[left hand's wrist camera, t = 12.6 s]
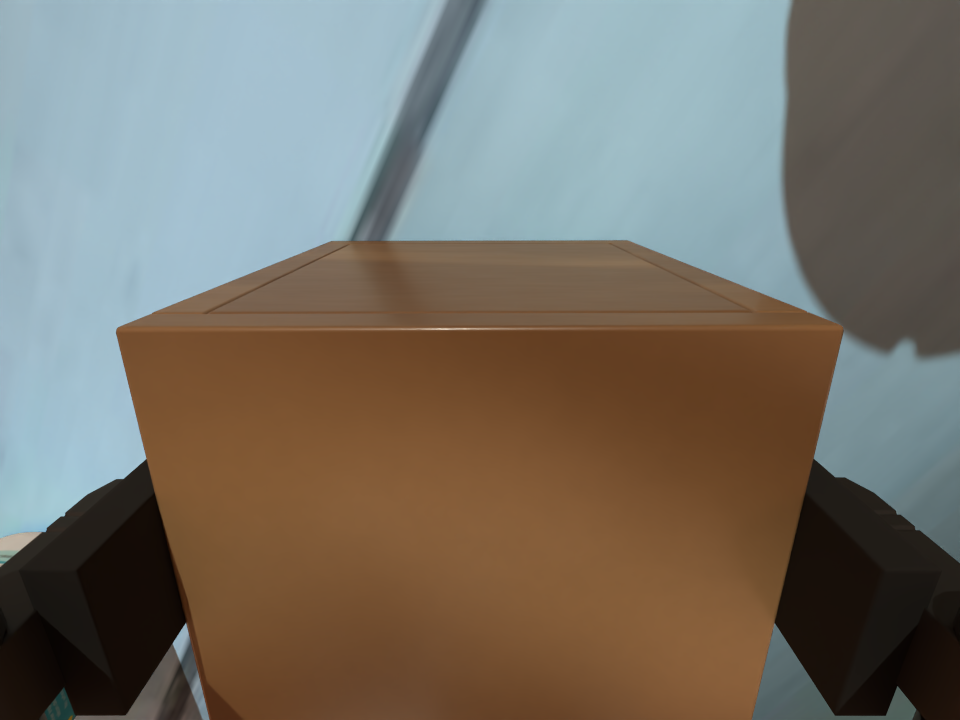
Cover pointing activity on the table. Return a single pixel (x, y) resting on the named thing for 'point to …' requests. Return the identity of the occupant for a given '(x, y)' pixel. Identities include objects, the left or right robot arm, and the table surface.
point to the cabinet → (480, 480)
